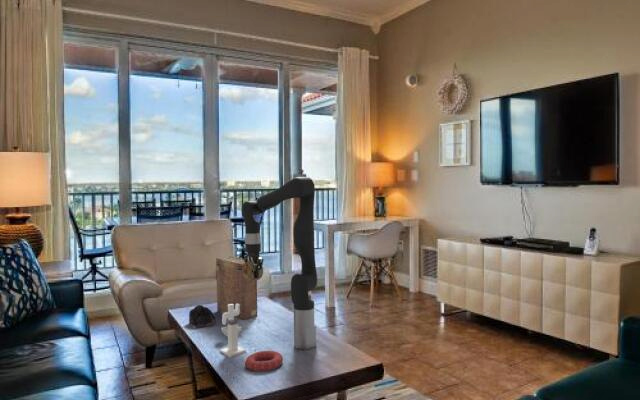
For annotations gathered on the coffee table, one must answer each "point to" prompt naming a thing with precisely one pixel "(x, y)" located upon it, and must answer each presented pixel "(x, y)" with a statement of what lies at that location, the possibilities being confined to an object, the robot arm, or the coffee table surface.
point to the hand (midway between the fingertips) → (253, 277)
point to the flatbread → (250, 272)
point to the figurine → (230, 317)
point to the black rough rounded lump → (201, 317)
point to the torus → (273, 362)
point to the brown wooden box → (235, 288)
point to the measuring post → (232, 340)
